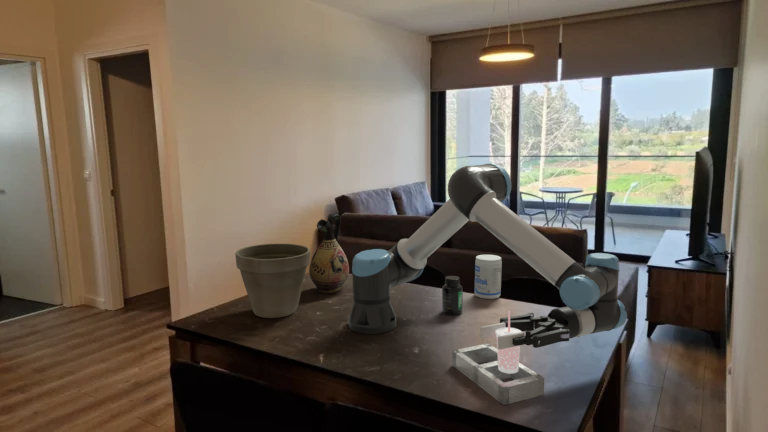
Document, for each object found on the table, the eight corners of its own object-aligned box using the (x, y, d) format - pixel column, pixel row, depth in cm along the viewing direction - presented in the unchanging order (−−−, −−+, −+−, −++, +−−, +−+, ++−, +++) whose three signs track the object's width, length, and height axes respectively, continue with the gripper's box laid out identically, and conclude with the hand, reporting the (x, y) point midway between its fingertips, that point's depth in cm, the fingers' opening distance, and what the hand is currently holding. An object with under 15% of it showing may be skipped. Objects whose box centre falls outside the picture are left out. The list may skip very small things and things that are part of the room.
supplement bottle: (465, 314, 169) (465, 279, 167) (446, 316, 167) (446, 281, 166) (457, 308, 176) (458, 274, 174) (439, 309, 174) (439, 275, 172)
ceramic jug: (333, 298, 189) (330, 218, 185) (302, 292, 198) (298, 215, 193) (359, 286, 203) (357, 212, 199) (329, 281, 212) (327, 210, 207)
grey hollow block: (452, 365, 131) (452, 350, 130) (488, 357, 135) (488, 343, 135) (503, 405, 111) (503, 387, 110) (543, 394, 115) (544, 378, 115)
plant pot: (327, 309, 177) (325, 248, 174) (269, 330, 158) (266, 262, 155) (281, 296, 193) (279, 240, 190) (224, 313, 174) (220, 251, 171)
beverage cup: (493, 363, 121) (494, 306, 119) (519, 363, 121) (520, 306, 119) (496, 374, 115) (497, 315, 113) (524, 375, 115) (525, 315, 113)
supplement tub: (469, 296, 188) (470, 257, 186) (482, 290, 195) (482, 253, 193) (493, 301, 182) (493, 261, 180) (505, 295, 189) (506, 256, 187)
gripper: (599, 351, 115) (516, 370, 106) (542, 324, 133) (467, 339, 124) (601, 319, 114) (516, 336, 105) (543, 296, 132) (467, 309, 123)
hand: (490, 337), depth 115 cm, fingers closed on beverage cup, 6 cm apart
